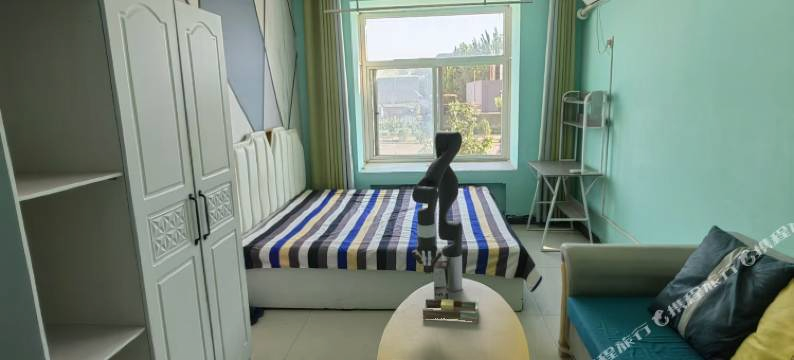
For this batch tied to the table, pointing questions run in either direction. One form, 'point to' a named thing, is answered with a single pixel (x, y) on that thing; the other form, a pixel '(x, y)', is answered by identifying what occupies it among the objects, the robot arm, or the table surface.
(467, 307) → the channel
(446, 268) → the coffee box
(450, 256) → the robot arm
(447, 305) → the ochre block
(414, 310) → the table surface
